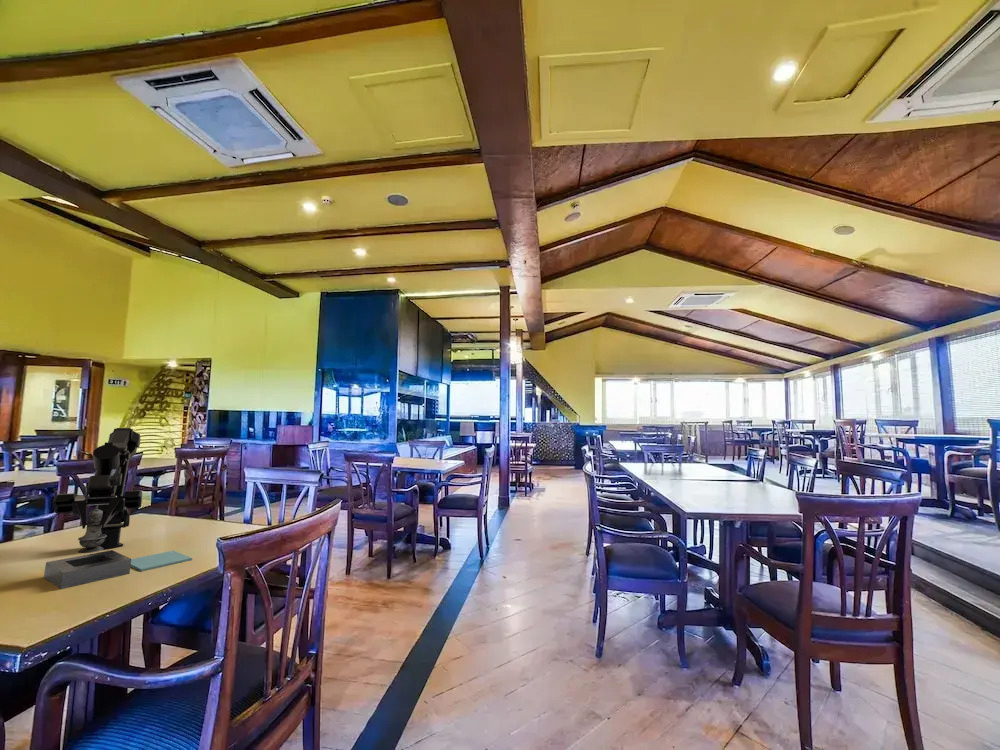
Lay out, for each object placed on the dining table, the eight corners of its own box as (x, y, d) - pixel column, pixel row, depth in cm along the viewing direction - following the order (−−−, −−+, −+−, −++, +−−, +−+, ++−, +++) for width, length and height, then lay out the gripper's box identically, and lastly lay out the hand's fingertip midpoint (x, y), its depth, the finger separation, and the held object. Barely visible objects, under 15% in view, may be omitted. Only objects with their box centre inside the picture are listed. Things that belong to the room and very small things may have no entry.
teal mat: (122, 562, 129) (123, 560, 130) (172, 552, 141) (173, 550, 141) (141, 571, 123) (141, 569, 123) (192, 559, 134) (192, 557, 134)
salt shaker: (72, 551, 118) (78, 506, 120) (99, 546, 123) (105, 503, 125) (81, 554, 115) (87, 509, 117) (109, 549, 121) (114, 505, 122)
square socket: (43, 577, 116) (46, 562, 117) (110, 563, 128) (112, 550, 129) (60, 589, 109) (63, 572, 109) (129, 573, 121) (131, 558, 121)
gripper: (59, 464, 120) (42, 513, 110) (145, 463, 130) (136, 507, 120) (63, 489, 125) (46, 537, 115) (145, 485, 136) (136, 529, 126)
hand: (93, 527), depth 119 cm, fingers closed on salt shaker, 4 cm apart
